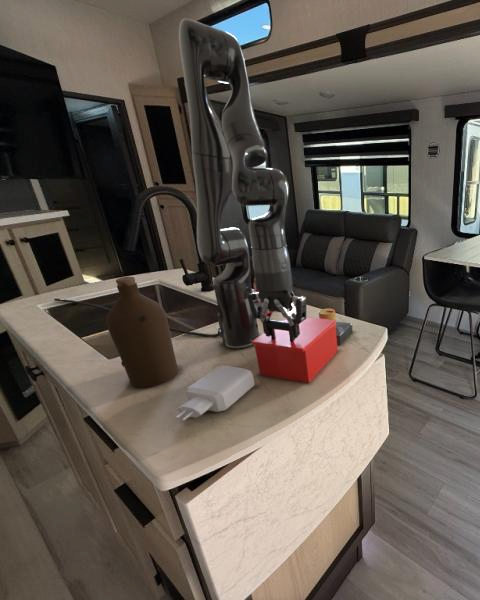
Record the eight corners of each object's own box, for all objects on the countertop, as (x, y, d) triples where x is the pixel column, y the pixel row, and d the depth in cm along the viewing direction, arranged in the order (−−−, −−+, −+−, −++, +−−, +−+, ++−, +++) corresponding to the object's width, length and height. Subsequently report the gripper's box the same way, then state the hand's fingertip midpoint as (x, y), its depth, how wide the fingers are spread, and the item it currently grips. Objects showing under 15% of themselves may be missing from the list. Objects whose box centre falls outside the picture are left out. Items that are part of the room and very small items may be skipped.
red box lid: (303, 351, 71) (300, 329, 69) (251, 344, 75) (247, 322, 73) (335, 322, 86) (333, 303, 84) (291, 317, 89) (288, 299, 87)
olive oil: (191, 366, 82) (166, 273, 73) (156, 391, 72) (123, 286, 63) (154, 363, 83) (126, 271, 75) (115, 388, 73) (77, 284, 65)
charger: (163, 424, 62) (222, 381, 76) (201, 433, 60) (255, 387, 73) (157, 404, 60) (218, 364, 74) (196, 413, 58) (251, 369, 72)
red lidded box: (309, 383, 75) (305, 350, 72) (259, 374, 78) (254, 343, 75) (337, 351, 89) (335, 322, 86) (294, 345, 92) (291, 317, 89)
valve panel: (304, 340, 96) (302, 330, 95) (318, 327, 104) (317, 318, 103) (340, 344, 93) (339, 335, 92) (352, 331, 101) (352, 322, 100)
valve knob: (317, 329, 96) (315, 312, 94) (324, 323, 100) (323, 306, 98) (331, 331, 94) (330, 314, 93) (338, 324, 99) (337, 308, 97)
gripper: (310, 265, 70) (317, 333, 76) (255, 261, 74) (266, 326, 80) (291, 274, 64) (300, 348, 69) (231, 269, 67) (245, 340, 73)
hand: (282, 336), depth 75 cm, fingers closed on red box lid, 6 cm apart
